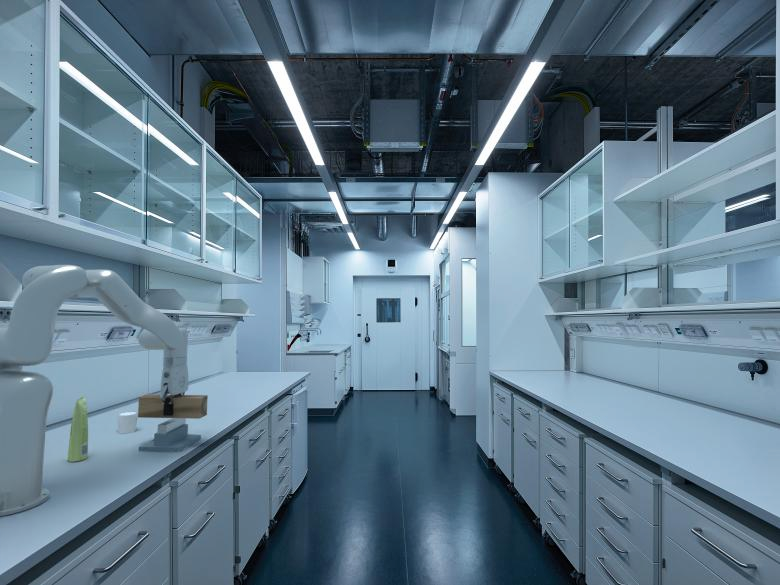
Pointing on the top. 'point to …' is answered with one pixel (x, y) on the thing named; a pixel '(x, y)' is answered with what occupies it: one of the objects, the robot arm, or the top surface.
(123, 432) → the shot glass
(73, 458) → the tube
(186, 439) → the stand
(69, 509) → the top surface
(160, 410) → the walnut bar
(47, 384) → the robot arm
